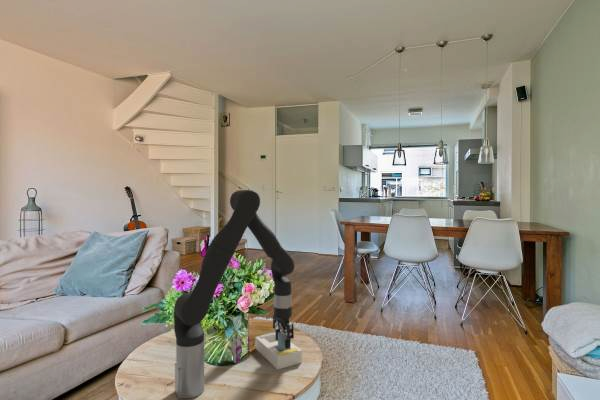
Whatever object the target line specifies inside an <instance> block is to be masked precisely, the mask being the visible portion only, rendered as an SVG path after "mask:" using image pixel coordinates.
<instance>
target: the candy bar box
mask: <svg viewBox="0 0 600 400" xmlns="http://www.w3.org/2000/svg"><path fill="white" fill-rule="evenodd" d="M247 320H248V350H249V351H250V322H249V321H250V316H249V314H247ZM232 349H233V350H232V351H233V358H234V363H233V364H238V363H239V362H240V361H241V360H240V357H241V353H242V347H241V341H240V339H239V336H237V335H235V336H234V337H233V341H232Z"/></svg>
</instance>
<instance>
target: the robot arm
mask: <svg viewBox="0 0 600 400" xmlns="http://www.w3.org/2000/svg"><path fill="white" fill-rule="evenodd" d="M229 204H230V207H231V209H232V210H233V213H232V215H231V216H230V218H229V220H228V221H227V223H225V225H224V226H223V227H222V228H221V229H220V230H219V231H218V232H217V233H216V235H215V236H214V237H213V238H212V239H211V242H210V243H209V246H208V247H207V248H206V249H207V250H205V252H204V255H203V258H202V262H201V267H200V272H199V277H198V279H197V282H196V284H195V286H194V287H193V289H192V292H187V293H186V292H185V293H183V294H181V295H180V296H179V297H178V298H177V299H176V301H175V304H174V308H173V322H174V323H173V327H174V335H175V339H176V340H175V345H176V346H175V347H176V350H175V353H176V355H175V361H176V362H175V363H174V392H175V395H176V397H177V399H178V400H180V399H191V398H196V397H199V396H200V395H202V394H203V393H204V391H205V331H204V328H203V325H202V321H203V320H204V319H205V317H206V316H207V313H208V311H209V308H210V306H211V303H212V301H213V298H214V295H215V293H216V290H217V288H218V286H219V284H220V282H221V280H222V278H223V276H224V274H225V272H226V271H227V268H228V266H229V264H230V263H231V261H232V259H233V257H234V254H235V252H236V250H237V248H238V246H239V244H240V242H241V240H242V239H243V236H244V233H245V232H246V230H247V228H248V229H249V230H250V233H252V234H253V236H254V238H255V239H256V240H257V241H256V242H258V244H259V246H260V247H261V249H262V250H263V252H264V253H265V255H266V256H267V257H268V258H270V259H271V262H270V270H271V276H272V280H273V283H274V285H273V290H274V293H273V294H274V295H273V315H272V329H274V332H275V333H276V341H278V332H281V331H282V333H283V334H284V336H285V348H286V349H287V348H290V347H291V343H292V342H291V340H293V339H294V338H295V337H294V336H295V333H294V331H295V330H294V328H295V327H294V323H293V322H291V323H290V319H291V317H292V316H293V299H292V297H293V296H292V281H291V280H290V279H289V278H288V277H287V276H288V275H291V274H292V273H293V272H294V270H295V262H294V259H293V258H292V257H291V255H290V254H289V253H288V252H287V251H286V249H285V248H283V247H282V244H281V243H280V241H279V240H278V238H277V236H276V234H275V233H274V232H273V231H272V230H271V228H270V227H269V226H268V225H267V223H265V222H264V221H263V220H262V218H260V216H259V215H258V213H257V212H258V210H259V208H260V205H261V197H260V195H259V193H258V192H257V191H255V190H251V189H241V190H236V191H234V192H232V194H231V196H230V199H229ZM286 333H287V335H286Z"/></svg>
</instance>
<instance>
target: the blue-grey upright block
mask: <svg viewBox="0 0 600 400" xmlns="http://www.w3.org/2000/svg"><path fill="white" fill-rule="evenodd" d="M280 331H281V332H278V351H279V352H281V351H285V350H288V348H287V349H286V348H285V336H284V334H283V333H282V330H280ZM286 335H287V333H286Z"/></svg>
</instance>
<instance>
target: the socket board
mask: <svg viewBox="0 0 600 400" xmlns="http://www.w3.org/2000/svg"><path fill="white" fill-rule="evenodd" d="M254 343H255V347H254V348H255V349H256V350H257V351H258V352H259V354H260V355H262V356H263V357H264V358H265V359H266V360H267V361H268V362H269V363H270V364H271V365H272V367H274V369H276V370H277V371H278V370H281V369H285V368H288V367H292V366H295V365H299V364H301V363H302V362H303V359H302V358H303V357H302V356H303V353H302V352H303V351H302V349H301V348H300V347H298V346H296V344H294V343H293V342H291V347H290V348H288V350H285V351H281V352H279V351H278V341H276V332H275V331H274V332H270V333H265V334H262V335H258V336H255V342H254Z"/></svg>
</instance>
